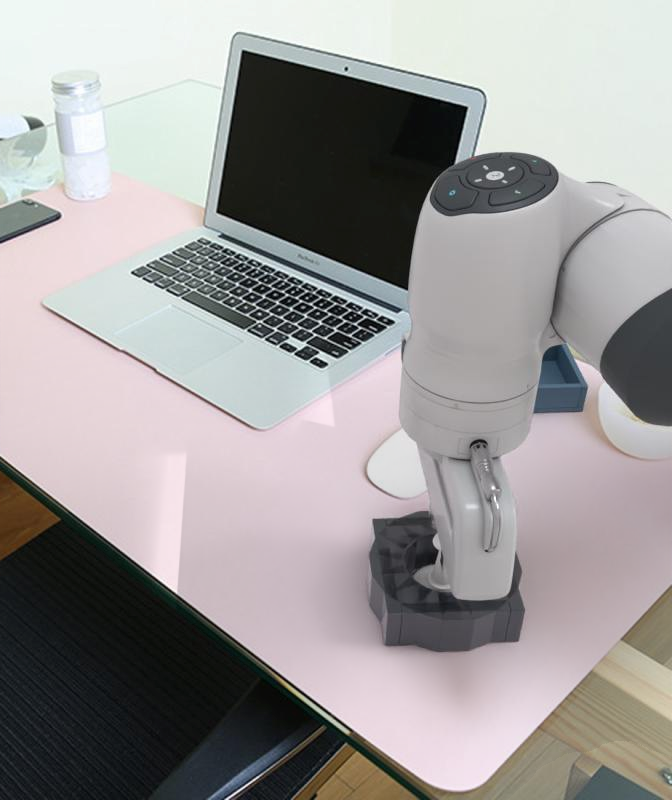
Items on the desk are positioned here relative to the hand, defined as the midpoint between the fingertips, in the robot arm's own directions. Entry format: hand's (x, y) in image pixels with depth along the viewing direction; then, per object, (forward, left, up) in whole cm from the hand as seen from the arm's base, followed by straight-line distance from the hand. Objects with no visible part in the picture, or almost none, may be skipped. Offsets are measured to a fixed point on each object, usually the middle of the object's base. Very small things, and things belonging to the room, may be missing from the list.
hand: (446, 546), depth 72 cm
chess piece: (0, 0, -5) cm, 5 cm away
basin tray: (-13, -27, -5) cm, 31 cm away
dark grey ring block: (0, 0, -5) cm, 5 cm away
